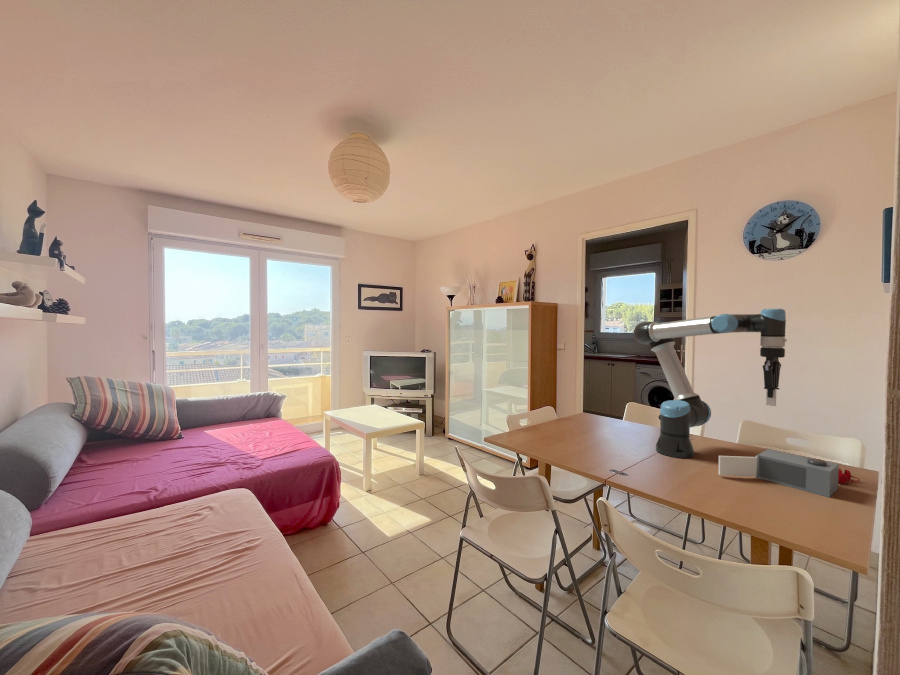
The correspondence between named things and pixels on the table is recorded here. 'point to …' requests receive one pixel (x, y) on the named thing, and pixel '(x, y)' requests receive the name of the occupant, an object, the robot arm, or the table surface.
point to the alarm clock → (844, 477)
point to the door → (739, 466)
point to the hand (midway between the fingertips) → (771, 405)
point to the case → (799, 472)
